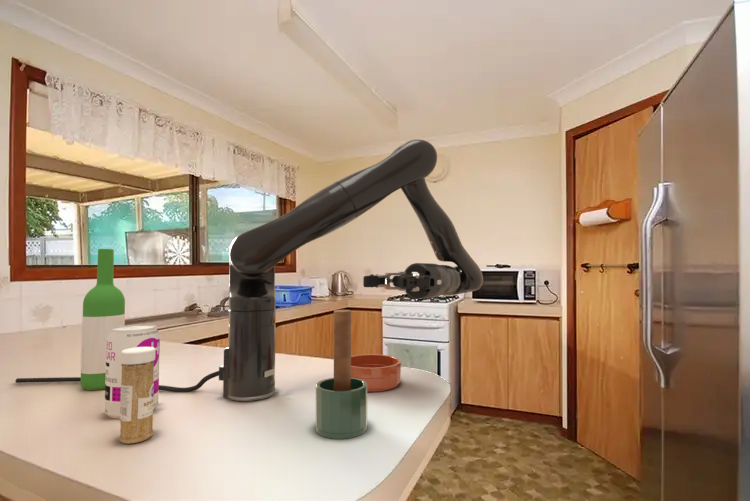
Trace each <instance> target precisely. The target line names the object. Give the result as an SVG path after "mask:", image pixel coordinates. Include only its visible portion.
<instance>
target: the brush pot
mask: <svg viewBox="0 0 750 501" xmlns="http://www.w3.org/2000/svg"><path fill="white" fill-rule="evenodd" d="M367 429H368V392H367V383H366V381H364V380H361V379H358V378H352V377H351V390H348V391H334V377H330V378H329V377H328V378H325V379H322V380H320V381H317V383H316V384H315V431H316V433H317V434H318V435H319V436H321V437H324V438H328V439H331V440H332V439H333V440H346V439H347V440H348V439H352V438H357V437H359V436H362V435H363V434H365V432H366V431H367Z"/></svg>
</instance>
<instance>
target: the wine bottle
mask: <svg viewBox="0 0 750 501" xmlns="http://www.w3.org/2000/svg"><path fill="white" fill-rule="evenodd" d="M114 257H115V250H114V249H113V248H98V249H97V264H96V265H97V266H96V267H97V268H96V269H97V270H96V285H95V286H94V287H92V288H91V289H90V290H88V292H87V293H86V294H85V296H84V298H83V301H82V316H81V318H82V320H81V321H82V322H81V348H80V350H81V352H80V377H81V382H80V387H81V388H82V389H84V390H86V391H100V390H105V378H106V344H107V337H108V335H109V333H110V332H111V329H112V328H115V327H121V326H126V325H125V324H126V322H125V321H126V299H125V298H126V297H125V295H124V293H123V292H122V290H120V289H119V288H118V287H117V286H116V285H115V284H114V268H115V267H114V266H115V265H114V264H115V263H114V262H115V260H114V259H115V258H114Z"/></svg>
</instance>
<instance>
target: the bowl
mask: <svg viewBox="0 0 750 501" xmlns="http://www.w3.org/2000/svg"><path fill="white" fill-rule="evenodd" d="M351 377H352V378H358V379H361V380H364V381H366V383H367V393H369V392H370V393H375V392H384V391H389V390H393V389H394V388H396V387H397V386H398V385H399V384H400V383H401V381H402V359H400V358H398V357H396V356H392V355H387V354H378V353H377V354H373V353H371V354H369V353H367V354H356V355H355V354H354V355H351Z"/></svg>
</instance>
